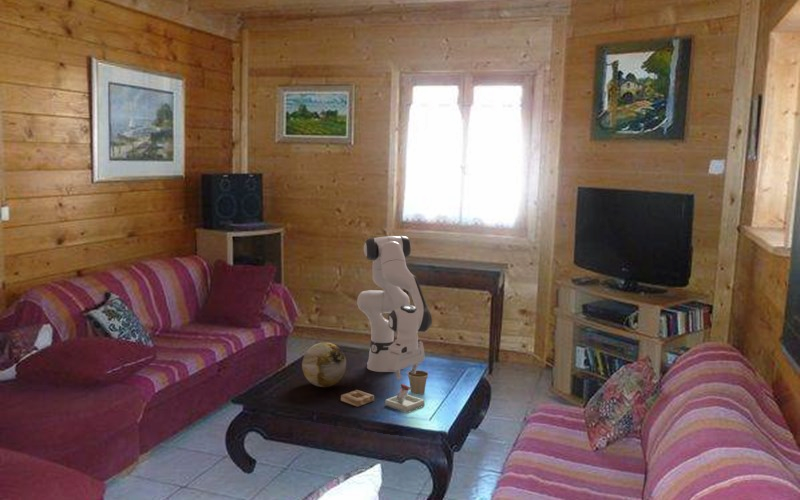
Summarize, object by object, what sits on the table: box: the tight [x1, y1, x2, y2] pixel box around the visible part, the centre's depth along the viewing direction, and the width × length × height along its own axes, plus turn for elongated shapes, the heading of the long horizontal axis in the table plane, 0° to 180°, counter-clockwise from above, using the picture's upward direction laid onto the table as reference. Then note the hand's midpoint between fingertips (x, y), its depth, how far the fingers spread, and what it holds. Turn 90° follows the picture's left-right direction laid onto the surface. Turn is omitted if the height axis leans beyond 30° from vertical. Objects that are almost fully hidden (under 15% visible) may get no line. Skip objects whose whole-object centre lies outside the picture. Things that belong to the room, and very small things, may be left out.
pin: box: [395, 383, 411, 404], centre depth 283 cm, size 4×4×8 cm
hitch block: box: [340, 389, 375, 407], centre depth 289 cm, size 10×10×2 cm
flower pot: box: [407, 369, 429, 395], centre depth 302 cm, size 9×9×9 cm
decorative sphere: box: [301, 341, 347, 388], centre depth 305 cm, size 20×20×20 cm
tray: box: [384, 394, 425, 413], centre depth 285 cm, size 12×12×2 cm
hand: (406, 376), depth 284 cm, fingers open, 8 cm apart
